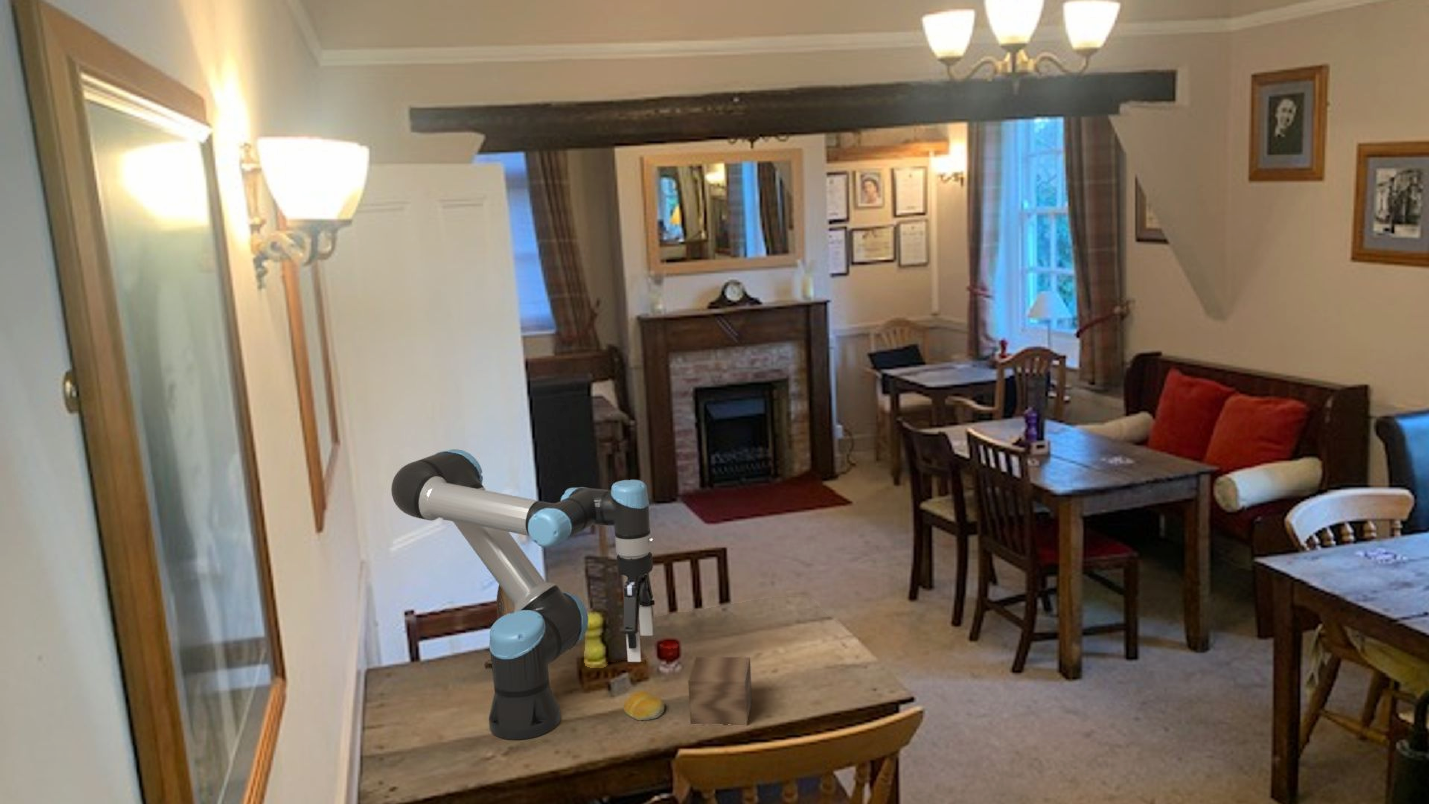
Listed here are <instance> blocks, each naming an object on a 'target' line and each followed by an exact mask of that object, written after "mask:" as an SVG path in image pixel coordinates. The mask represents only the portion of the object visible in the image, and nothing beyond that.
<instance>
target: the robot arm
mask: <svg viewBox="0 0 1429 804" xmlns="http://www.w3.org/2000/svg"><path fill="white" fill-rule="evenodd" d="M482 473H483V470H482V466H481V465H480V463H479V461H478V460H477V459H476V458H475V457H474V456H473V455H472V454H471V453H469V452H467V451H465V450H461V449H457V448H456V449H447V450H441V451H437V452H436V453H435V454H432V455H430V456H426V457H424V458H422V459H419V460H416V461H412V462H409V463H407V464H405V465H404V466H402V467H401V468H400V469H399V470H398V471H397V472H396V474H395V475H394V477H393V479H392V481H391V488H390V489H391V496H392V499H393V502H394V504H395V505H396V507H397V508H398V509H399V510H400V511H401V512H403V513H404V514H406V515H408V516H410V517H413V518H417V519H420V520H421V519H422V520H425V521H435V520H438V519H439V518H440V519H442V520H443V521H449V522H453V523H454V525H455V526H456V527H457V529H458V531H459V532H460V533H461V535H462V536H463V538H465V540H466V541H467V543H468V544H469V546H471V548H472V549H473V551H474V552H475V554H476V555H477V556H478V557H479V559H480V561H481V562H482V563H483V564H484V566H485V567H486V569H487V570H488V571H489V573H490V574H491V576H492V577H493V578H494V580H496V582H497V583H498V586H499V585H500V586H501V588H502V589H503V590H504V592H505V593H506V594H507V596H508V597H509V599H510V600H511V601H512V603H513V604H514V606H515V610H514V613H513V614H510V613H509V614H506V615H504V616H502V617H501V618H499V619H496V621H495V622H494V623H492V626H491V627H490V630H489V645H488V646H489V651H490V660H491V661H492V666H491V670H492V677H493V678H492V679H493V680H492V681H493V689H494V690H493V692H494V695H493V698H492V703H491V706H490V710H489V714H488V726H489V727H488V728H489V731H490V732H491V733H492V734H493V736H495V737H498V738H501V739H505V740H512V741H513V740H515V741H516V740H526V739H532V738H537V737H540V736H542V735H543V736H544V735H545V734H547V733H549V732H550V731H553V730H554V729H555V728H557V726H559V723H560V722H561V710H560V706H559V703H558V701H557V699H556V696H555V694H554V692H553V690H552V687H551V686H550V685H551V684H550V678H549V677H550V676H549V665H550V664H551V663H552V662H553V661H555V660H557V659H558V658H559V657H561V656H562V655H563V654H564V653H566V652H567V651H569V650H571V649H573V648H574V647H575V646H576V645H577V644H578V643H579V642H580V641H581V640H582V639H583V638H584V636H585V635H586V633H587V632H588V627H589V625H588V624H589V616H588V610H587V608H586V605H585V604H584V602H583V601H582V600H581V599H580V597H578V596H577V595H576V594H575V593H574V594H573V593H572V594H571V593H570V592H568V591H567V592H562V590H561V589H560V588H559V586H558V585H557V584H556V583H552V582H547V581H546V580H545V579H544V577H543V576H542V575H541V573H540V572H539V571H538V570H537V568H536V567H535V565H534V564H533V562H532V561H531V560H530V559H529V557H528V556H527V555H526V554H525V552H524V551H523V549H522V547H520V545H519V544H518V542H517V541H516V540H515V538H514V537H513V536H512V534H513V533H514V534H517V535H522V536H526V537H529V538H530V539H531V540H532V541H533V542H534V543H535V544H537V546H539V547H542V548H553V547H555V546H557V545H560V544H562V543H564V542H565V541H566V540H569V539H570V538H572V537H573V536H575V535H576V534H578V533H580V532H582V531H584V530H586V529H588V528H589V527H591V526H593V525H598V526H613V528H614V540H615V541H614V542H615V543H614V544H615V552H616V553H615V554H617V556H616V567H617V569H616V570H617V573H618V574H619V575H622V576H624V577H627V581H625V584H624V585H623V587H622V588H623V620H622V623H623V624H622V625H623V626H622V629H621V634H623V635H625V639H626V640H625V641H626V653H627V662H629V663H630V662H631V663H640V662H642V650H641V640H640V639H641V638H640V637H641V636H643V637H644V636H647V637H648V636H652V637H653V635H654V629H653V628H654V627H653V626H654V625H653V611H652V610H653V609H652V606H655V599H653V598H654V596H653V591H652V586H651V581H650V577H649V573H651V572H652V571H653V568H654V566H653V565H654V562H653V561H654V560H653V554H652V543H654V538H653V537H651V528H650V527H651V526H650V524H651V523H650V507H649V506H650V500H649V495H648V487H647V485H646V483H645V482H644V481H642V480H639V479H630V480H629V479H624V480H618V481H616V482H614V483H612V486H611V489H602V488H592V487H591V488H590V487H584V486H580V487H569V488H567V489H566V490H565V491H564V494H563V495H562V496H561V497H560V501H558V502H555V503H554V502H552V503H551V502H547V501H543V500H542V501H541V500H538V499H532V498H527V497H521V496H516V495H512V494H505V493H500V492H497V491H492V490H491V491H490V490H486V488H485V486H484V485H483V480H484V477H483V475H482ZM511 533H512V534H511Z"/></svg>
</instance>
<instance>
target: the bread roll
mask: <svg viewBox="0 0 1429 804" xmlns="http://www.w3.org/2000/svg"><path fill="white" fill-rule="evenodd" d="M623 712H625V714H626V715H627V716H629V717H632V718H633V719H634V720H635V719H636V721H638V720H639V721H641V720H644V721H649V720H650V719H651V720H655V719H658V718H659V717H661V716H662V715H663V714H664V712H665V703H664V701H663V699H662V698H660V697H658V696H655V695H653V694H652V693H650V692H648V691H636V692H634V693H633V694H631V695H630V696H629V697H627V699H626V700H625V701H624V704H623ZM641 722H642V721H641Z"/></svg>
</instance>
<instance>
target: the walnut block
mask: <svg viewBox="0 0 1429 804" xmlns="http://www.w3.org/2000/svg"><path fill="white" fill-rule="evenodd" d="M751 669H752V667H751V657H749V656H747V657H743V656H742V657H741V656H739V657H738V656H737V657H732V656H731V657H729V656H726V657H724V656H723V657H722V656H715V657H714V656H696V657H695V660H694V662H693V665H692V668H691V671H690V674H689V678H688V680H687V683H688V703H689V718H690V719H689V720H690V725H691V724H703V725H702V726H706V725H705V724H709V725H708V726H712V725H711V724H723V725H722V726H729V725H728V724H731V725H730V726H732V725H747V726H748V723H749V718H748V716H750V713H749V711H750V712H751V706H752V703H753V702H752V701H753V695H752V690H753V689H752V672H751ZM747 722H748V723H747Z"/></svg>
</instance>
